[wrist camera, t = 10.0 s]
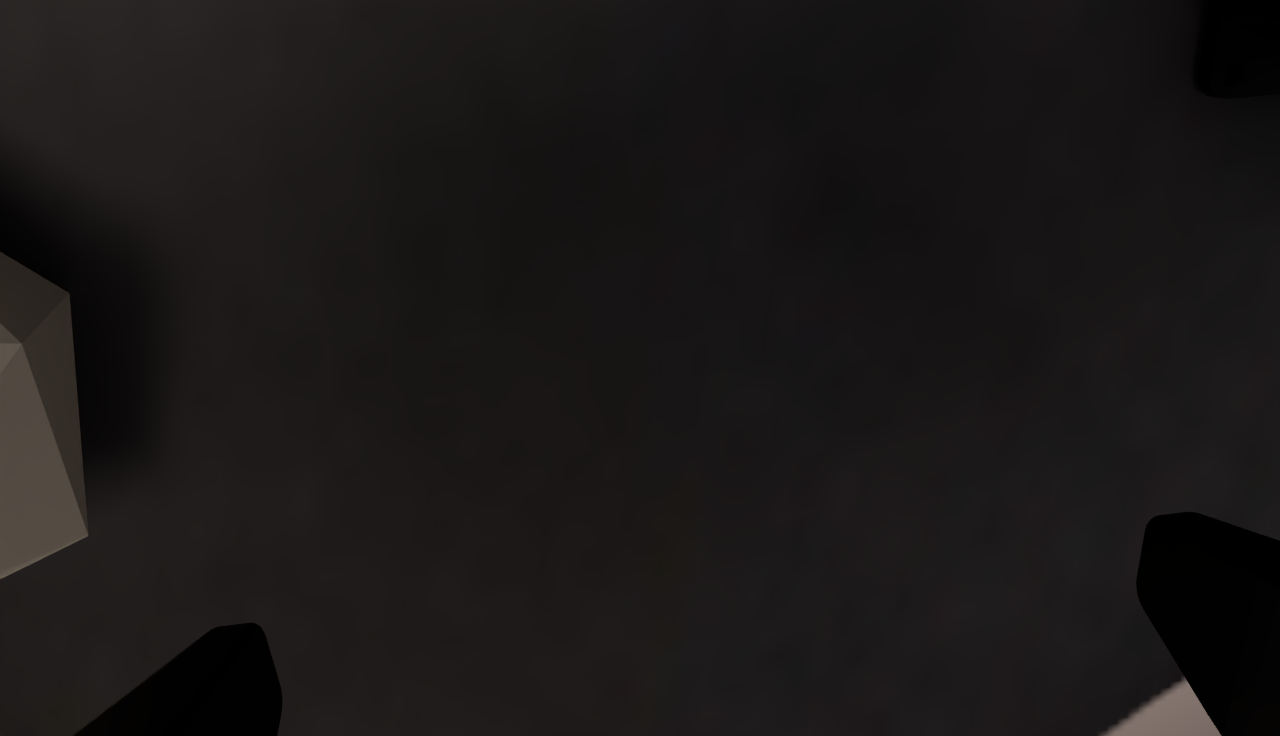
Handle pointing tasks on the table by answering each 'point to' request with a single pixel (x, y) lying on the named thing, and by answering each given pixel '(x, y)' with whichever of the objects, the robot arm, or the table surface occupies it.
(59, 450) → the die
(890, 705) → the table surface
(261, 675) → the robot arm
